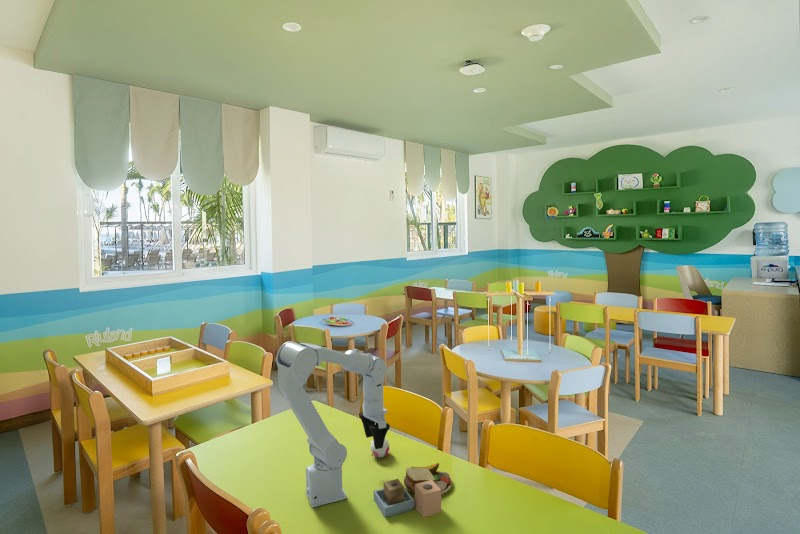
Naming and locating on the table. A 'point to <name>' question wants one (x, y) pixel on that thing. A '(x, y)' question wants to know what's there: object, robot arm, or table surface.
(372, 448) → the stress ball
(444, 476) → the toy sandwich meal
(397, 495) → the walnut block
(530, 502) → the table surface
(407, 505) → the tray
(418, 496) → the terracotta block
